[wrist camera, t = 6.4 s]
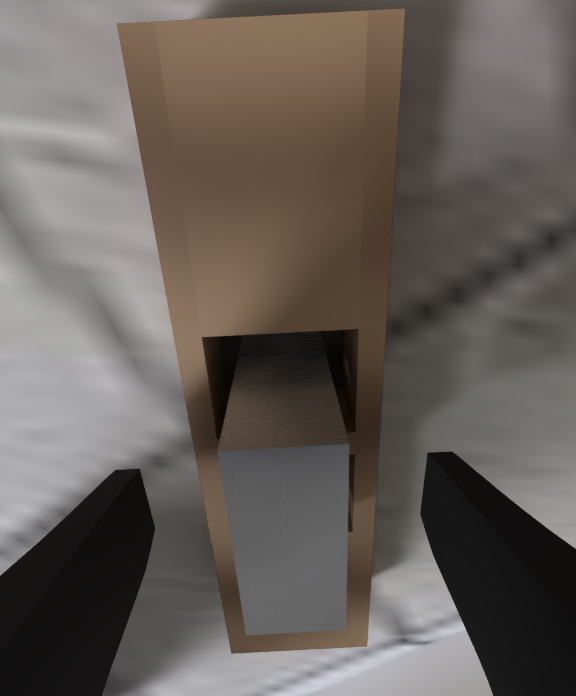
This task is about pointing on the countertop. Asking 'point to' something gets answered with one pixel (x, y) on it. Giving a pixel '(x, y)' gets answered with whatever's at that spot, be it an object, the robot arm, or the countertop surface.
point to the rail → (274, 229)
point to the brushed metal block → (286, 485)
